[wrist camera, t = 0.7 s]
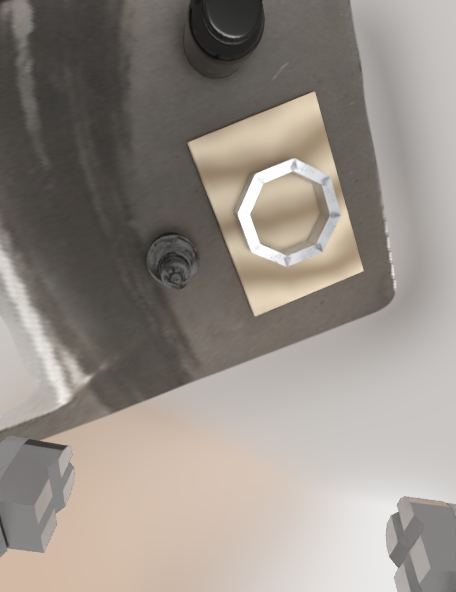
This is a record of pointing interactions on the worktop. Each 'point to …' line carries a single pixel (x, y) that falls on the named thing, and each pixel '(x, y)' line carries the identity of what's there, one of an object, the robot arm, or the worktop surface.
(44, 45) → the worktop surface
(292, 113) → the carrier plate
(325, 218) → the metal collar
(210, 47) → the supplement bottle
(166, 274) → the dark grey turned piece
